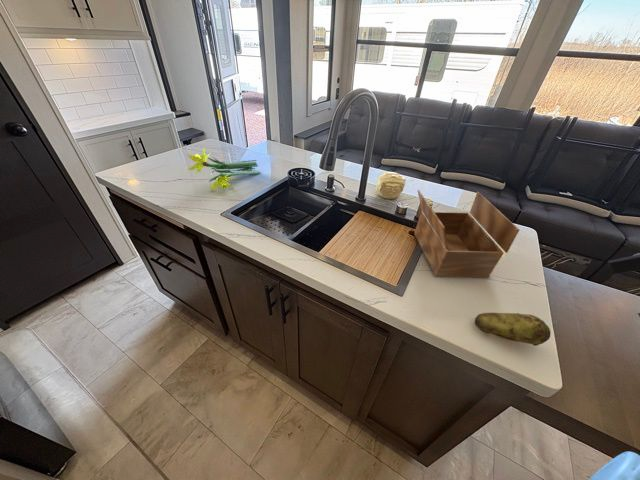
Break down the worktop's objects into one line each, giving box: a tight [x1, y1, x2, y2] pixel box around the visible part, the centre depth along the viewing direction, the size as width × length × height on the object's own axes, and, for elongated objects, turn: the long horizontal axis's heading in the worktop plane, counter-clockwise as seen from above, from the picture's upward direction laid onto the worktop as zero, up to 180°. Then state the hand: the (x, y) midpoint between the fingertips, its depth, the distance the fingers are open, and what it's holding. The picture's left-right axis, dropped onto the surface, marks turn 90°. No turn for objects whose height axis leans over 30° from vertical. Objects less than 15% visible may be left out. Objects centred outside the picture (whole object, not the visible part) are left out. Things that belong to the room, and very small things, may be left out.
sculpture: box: [375, 171, 406, 200], centre depth 111 cm, size 12×12×11 cm
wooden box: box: [413, 191, 520, 278], centre depth 78 cm, size 21×17×17 cm
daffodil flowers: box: [187, 145, 261, 192], centre depth 113 cm, size 17×15×35 cm
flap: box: [417, 189, 448, 250], centre depth 75 cm, size 21×8×1 cm
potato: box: [474, 311, 551, 347], centre depth 58 cm, size 8×13×8 cm, turn 47°
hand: (624, 291), depth 44 cm, fingers open, 13 cm apart
